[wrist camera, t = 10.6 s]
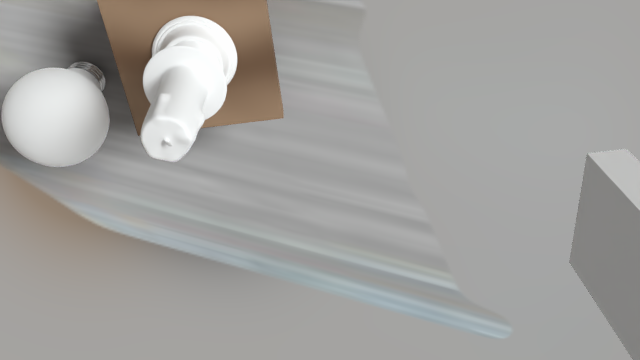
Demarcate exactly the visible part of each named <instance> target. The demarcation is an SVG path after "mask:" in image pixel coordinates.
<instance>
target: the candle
mask: <svg viewBox="0 0 640 360" xmlns="http://www.w3.org/2000/svg"><path fill="white" fill-rule="evenodd" d="M236 68H237V52H236V48H235V45H234V43H233V41H232V39H231V37H230V36H229V35H228V33H227V32H226V31H225V30H224V29H223V28H222V27H221V26H219V25H218V24H217V23H215V22H213V21H211V20H209V19H207V18H203V17H199V16H183V17H178V18H176V19H173V20H171V21H169V22H168V23H166V24H165V25H164V26H163V27H162V28H161V29H160V30H159V32H158V33H157V35H156V37H155V39H154V42H153V46H152V58H151V59H150V60H149V62H148V63H147V65H146V67H145V70H144V74H143V88H144V92H145V94H146V97H147V99H148V101H149V102H150V104H151V105H150V108H149V110H148V112H147V114H146V117H145V119H144V122H143V125H142V128H141V134H140V137H141V142H142V145H143V147H144V148H145V150H146V152H147V154H148V155H149V156H150V157H151V158H154V159H159V160H164V161H168V162H176V161H178V160H180V159H181V158H182V157H183V156H184V155H185V154H186V153H187V152H188V151H189V150H190V148H191V146H192V145H193V143H194V141H195V139H196V137H197V134H198V131H199V129H200V128H201V126H202V125H203V123H204V121H205V120H206V119H208V118H210V117H211V116H213V115H214V114H215V113H216V112H217V111H218V110H219V109H220V108H221V106H222V105H223V103H224V101H225V98H226V93H227V85H228V84H229V83H230V81H231V80H232V78H233V76H234V74H235V71H236Z"/></svg>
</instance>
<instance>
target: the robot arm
mask: <svg viewBox="0 0 640 360" xmlns="http://www.w3.org/2000/svg"><path fill="white" fill-rule="evenodd" d="M569 263H570V264H571V266H572V267H573V269H574V270H575V272H576V273H577V275H578V276H579V278H580V279H581V281H582V282H583V284H584V286H585V287H586V289H587V290H588V292H589V293H590V295H591V296H592V298H593V299H594V301H595V302H596V304H597V306H598V307H599V308H600V310H601V312H602V313H603V315H604V316H605V317H606V319H607V321H608V322H609V324H610V325H611V327H612V328H613V330H614V332H615V333H616V335H617V336H618V338H619V339H620V341H621V342H622V344H623V345H624V347H625V348H626V350H627V351H628V353H629V354H630V356H631V358H632V359H633V360H640V162H639V161H638V160H637V159H636V158H635V157H634V156H633V155H632V154H631V153H630V152H629V151H628V150H627V149H621V150H612V151H603V152H594V153H587V157H586V163H585V169H584V175H583V182H582V187H581V193H580V200H579V206H578V212H577V218H576V224H575V230H574V237H573V242H572V249H571V255H570V261H569Z"/></svg>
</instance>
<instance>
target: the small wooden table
mask: <svg viewBox="0 0 640 360" xmlns="http://www.w3.org/2000/svg"><path fill="white" fill-rule="evenodd" d="M97 2H98V5H99V8H100V12H101V15H102V18H103V22H104V25H105V28H106V31H107V35H108V38H109V41H110V45H111V48H112V51H113V54H114V58H115V61H116V64H117V68H118V71H119V74H120V78H121V81H122V84H123V87H124V91H125V94H126V97H127V101H128V104H129V107H130V110H131V114H132V117H133V120H134V124H135V127H136V130H137V133H138V136H140V134H141V128H142V125H143V122H144V119H145V117H146V114H147V112H148V110H149V108H150V105H151V104H150V102H149V101H148V99H147V97H146V94H145V92H144V88H143V74H144V70H145V67H146V65H147V63H148V62H149V60H150V59H151V58H152V46H153V42H154V39H155V37H156V35H157V33H158V32H159V30H160V29H161V28H162V27H163V26H164V25H165V24H166V23H168V22H169V21H171V20H173V19H176V18H178V17H183V16H199V17H203V18H207V19H209V20H211V21H213V22H215V23H217V24H218V25H219V26H221V27H222V28H223V29H224V30H225V31H226V32H227V33H228V35H229V36H230V37H231V39H232V41H233V43H234V45H235V48H236V52H237V68H236V71H235V74H234V76H233V78H232V80H231V81H230V83H229V84H228V85H227V93H226V98H225V101H224V103H223V105H222V106H221V108H220V109H219V110H218V111H217V112H216V113H215V114H214V115H213V116H211V117H210V118H208V119H206V120H205V121H204V123H203V125H202V126H201V128H206V127H214V126H222V125H231V124H239V123H247V122H255V121H264V120H272V119H280V118H283V105H282V98H281V92H280V85H279V79H278V72H277V66H276V59H275V52H274V46H273V39H272V33H271V26H270V20H269V13H268V6H267V0H97Z"/></svg>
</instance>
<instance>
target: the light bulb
mask: <svg viewBox="0 0 640 360" xmlns="http://www.w3.org/2000/svg"><path fill="white" fill-rule="evenodd" d="M105 86H106V80H105V76H104V74H103V72H102V71H101V70H100V69H99V68H98V67H97V66H96V65H94V64H92V63H90V62H83V61H80V62H76V63H73V64H72V65H70V66H69V67H68V68H67V69H63V68H44V69H38V70H35V71H32V72H30V73H28V74H26V75H25V76H23V77H22V78H20V79H19V80H17V81H16V82H15V83H14V84H13V85H12V86H11V88H10V89H9V91H8V93H7V94H6V96H5V98H4V101H3V105H2V111H1V121H2V125H3V129H4V132H5V134H6V137H7V139H8V140H9V142H10V143H11V145H12V146H13V147H14V148H15V149H16V150H17V151H18V152H19V153H20V154H21V155H23V156H24V157H25V158H27V159H29V160H31V161H33V162H35V163H37V164H40V165H44V166H49V167H65V166H72V165H75V164H78V163H80V162H82V161H84V160H86V159H88V158H89V157H91V156H92V155H93V154H94V153H95V152H97V151H98V149H99V148H100V147H101V145H102V144H103V142H104V141H105V139H106V136H107V133H108V130H109V124H110V117H109V109H108V105H107V102H106V100H105V98H104V96H103V94H102V92H103V90H104V88H105Z"/></svg>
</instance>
